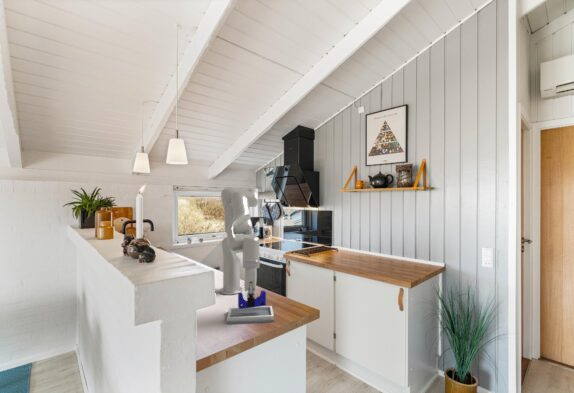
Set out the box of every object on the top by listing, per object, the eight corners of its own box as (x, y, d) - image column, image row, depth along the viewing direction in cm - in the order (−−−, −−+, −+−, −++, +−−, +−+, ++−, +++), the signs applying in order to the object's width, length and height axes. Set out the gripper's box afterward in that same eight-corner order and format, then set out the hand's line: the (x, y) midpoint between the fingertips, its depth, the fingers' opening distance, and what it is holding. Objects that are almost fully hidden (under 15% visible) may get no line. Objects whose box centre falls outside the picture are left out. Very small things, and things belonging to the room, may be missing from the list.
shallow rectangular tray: (229, 311, 132) (229, 306, 132) (271, 309, 135) (271, 305, 135) (226, 324, 118) (226, 319, 118) (274, 322, 121) (274, 316, 121)
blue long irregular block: (263, 302, 131) (263, 289, 131) (265, 305, 126) (265, 292, 127) (237, 305, 127) (237, 292, 127) (239, 308, 123) (239, 295, 123)
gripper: (243, 260, 135) (243, 298, 135) (242, 268, 118) (241, 311, 118) (258, 260, 136) (258, 297, 136) (260, 268, 119) (259, 311, 119)
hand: (250, 303), depth 127 cm, fingers closed on blue long irregular block, 5 cm apart
